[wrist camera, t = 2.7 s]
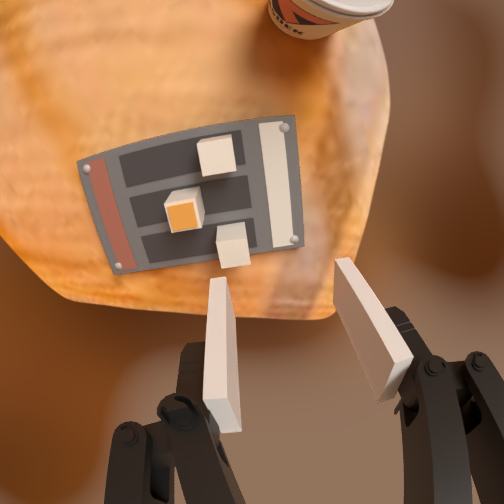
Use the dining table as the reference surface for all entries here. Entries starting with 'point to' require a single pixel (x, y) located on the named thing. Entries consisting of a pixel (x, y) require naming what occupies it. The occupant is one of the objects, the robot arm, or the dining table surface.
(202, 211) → the breaker toggle
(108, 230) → the breaker panel
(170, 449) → the robot arm
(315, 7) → the coffee cup
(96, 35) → the dining table surface
